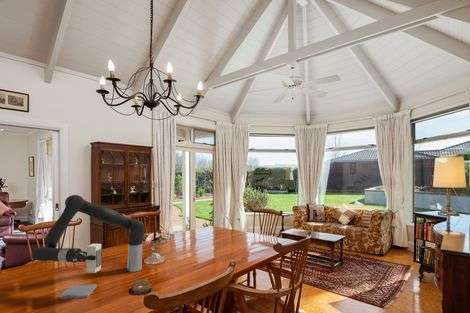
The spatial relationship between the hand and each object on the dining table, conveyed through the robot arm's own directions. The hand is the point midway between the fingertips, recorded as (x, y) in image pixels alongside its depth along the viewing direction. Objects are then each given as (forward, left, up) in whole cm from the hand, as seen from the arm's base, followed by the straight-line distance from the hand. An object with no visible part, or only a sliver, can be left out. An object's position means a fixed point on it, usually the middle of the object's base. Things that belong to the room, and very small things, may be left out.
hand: (98, 256), depth 146 cm
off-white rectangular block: (-1, -2, -8) cm, 8 cm away
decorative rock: (-4, +23, -21) cm, 31 cm away
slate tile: (-4, -11, -21) cm, 23 cm away
